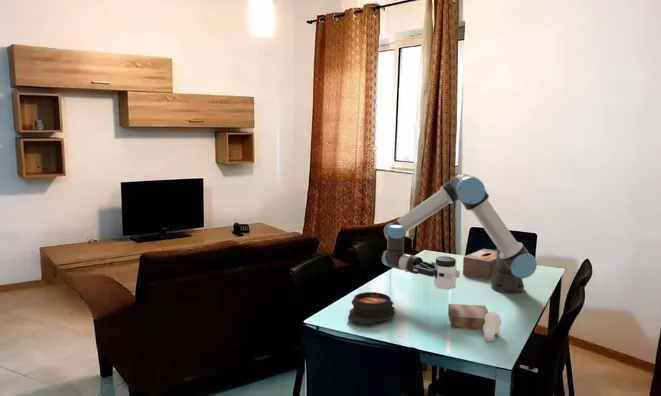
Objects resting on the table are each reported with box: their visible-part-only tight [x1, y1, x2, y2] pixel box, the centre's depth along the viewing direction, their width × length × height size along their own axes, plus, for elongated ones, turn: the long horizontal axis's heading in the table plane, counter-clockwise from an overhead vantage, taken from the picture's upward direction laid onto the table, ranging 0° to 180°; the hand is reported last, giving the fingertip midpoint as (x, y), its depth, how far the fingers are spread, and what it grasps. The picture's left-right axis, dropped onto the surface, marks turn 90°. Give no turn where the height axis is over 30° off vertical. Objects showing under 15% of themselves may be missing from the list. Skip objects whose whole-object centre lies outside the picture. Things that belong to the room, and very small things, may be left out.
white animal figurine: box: [482, 311, 502, 342], centre depth 190 cm, size 6×8×12 cm
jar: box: [433, 255, 457, 291], centre depth 212 cm, size 9×8×12 cm
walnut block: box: [447, 303, 489, 331], centre depth 205 cm, size 15×15×5 cm
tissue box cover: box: [462, 248, 497, 281], centre depth 278 cm, size 26×14×10 cm, turn 139°
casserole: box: [347, 291, 396, 325], centre depth 210 cm, size 25×19×8 cm
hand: (455, 275), depth 208 cm, fingers closed on jar, 4 cm apart
